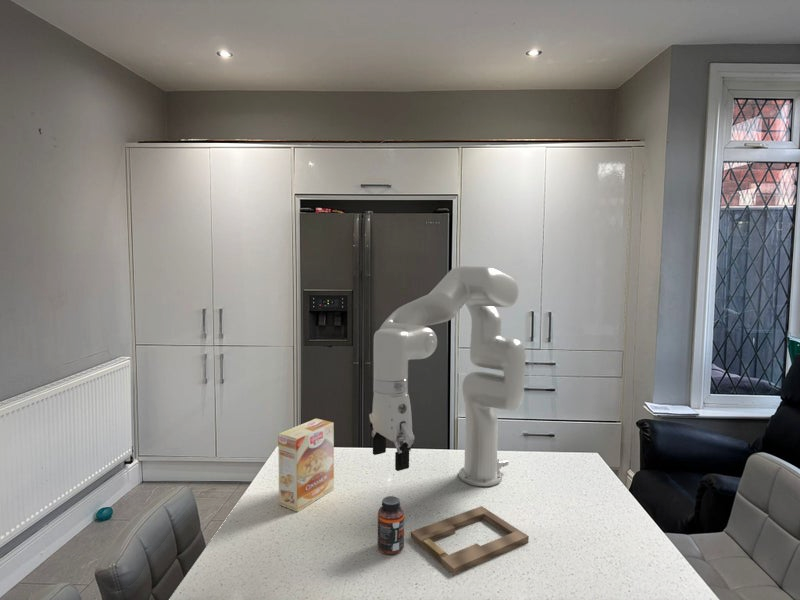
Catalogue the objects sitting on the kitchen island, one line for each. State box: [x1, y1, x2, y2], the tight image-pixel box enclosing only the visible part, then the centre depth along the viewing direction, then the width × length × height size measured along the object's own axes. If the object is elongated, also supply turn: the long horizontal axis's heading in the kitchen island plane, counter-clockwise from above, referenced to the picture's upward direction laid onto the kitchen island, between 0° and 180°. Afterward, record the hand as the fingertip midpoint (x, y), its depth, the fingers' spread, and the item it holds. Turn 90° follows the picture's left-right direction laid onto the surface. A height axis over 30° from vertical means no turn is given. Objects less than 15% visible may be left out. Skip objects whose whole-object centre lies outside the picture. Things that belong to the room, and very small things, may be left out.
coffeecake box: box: [277, 418, 335, 513], centre depth 134 cm, size 15×7×20 cm, turn 148°
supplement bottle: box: [377, 495, 405, 555], centre depth 111 cm, size 6×6×11 cm
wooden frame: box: [410, 505, 529, 576], centre depth 114 cm, size 22×16×2 cm
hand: (390, 461), depth 109 cm, fingers open, 9 cm apart
